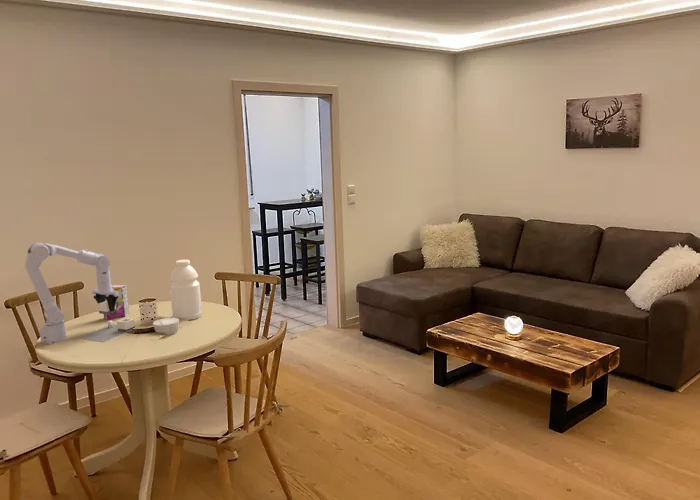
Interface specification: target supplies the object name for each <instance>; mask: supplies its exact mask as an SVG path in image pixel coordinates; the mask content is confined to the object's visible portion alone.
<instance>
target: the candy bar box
mask: <svg viewBox="0 0 700 500" xmlns="http://www.w3.org/2000/svg"><path fill="white" fill-rule="evenodd" d="M111 285H112V289H114V290H115V291H119V296H118V298H117V300H116V312H113V313H110V314H103V319H104V320H108V321H112V320H114V319H115V318H127V317H128V316H129V315H130V314H131V313H130V306H129V297H128V288H127V287H128V286H127V285H125V284H123V285H119V284H118V285H113V284H111ZM108 296H109V295H106V297H108ZM105 301H107V300H106V298H105Z"/></svg>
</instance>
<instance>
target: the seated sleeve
mask: <svg viewBox="0 0 700 500" xmlns="http://www.w3.org/2000/svg"><path fill="white" fill-rule="evenodd" d="M116 325H117V327H118V331H122V332H127V333H129V332H132V331H133V330H132V329H133V328H135V327H136V324H135V319H134V318H129V317H123V318H122V319H119V320H117V321H116ZM131 330H132V331H131ZM128 331H129V332H128Z"/></svg>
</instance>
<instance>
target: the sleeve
mask: <svg viewBox="0 0 700 500" xmlns="http://www.w3.org/2000/svg"><path fill="white" fill-rule="evenodd" d="M97 308H98V314H101V315H104V314H110V313H113V312H116V304H115V310H114V311H110V310H109V306H108V302H107V301H105V302H102V303H99V304H98V303H97Z"/></svg>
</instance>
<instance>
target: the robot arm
mask: <svg viewBox="0 0 700 500" xmlns="http://www.w3.org/2000/svg"><path fill="white" fill-rule="evenodd" d="M55 255H59V256H63V257H64V256H65V257H68V258H72V259H75V260H76V261H77V262H78V263H81V264H84V265H87V266H91V267H92V266H94V267H95V274H96V283H97V288H95V289H92V290H91V292H92V294H93V295H94V296H93V299H94V300H95V301H96V303H97V305H98V304H99V303H102V302H105V298H106V300H107V302H108V306H109V310H110V311H114V310H115V304H116V300H117V298H118V296H119V291H115V290H114V289H112V285H113V284H112V277H111V270H110V266H111V261H110V259H109V257H107V256H106V255H104V254H103V253H100V252H92V251H89V249H86V248H84V249H80V250H74V249H71V248H67V247H63V246H60V245H57V244H53V243H48V242H44V243H43V242H41V241H36V242H33V243H32V244H31V245H30V246H29V248H27V251H26V256H25V257H26V258H25V263H24V268H25V270H26V273H27V275H28V277H29V279H30V281H31V283H32V285H33V287H34V290H35V291H36V294H37V296H38V298H39V301H40V302H41V304H42V308H43V315H44V317H45V319H46V320H45V324H44V325H43V326H41V327H40V328H39V336H40V343H42V344H45V345H46V344H48V345H53V344H55V343H58V342H61V341H64V340H66V339H67V333H66V325H65V320H64V318H65V315H64V313H63V311H62V310H61V309H60V308H59V307H58V305H57V304H56V302H55V300H54V298H53V296H52V293H51V291H50V289H49V287H48V285H47V283H46V281H45V279H44V276H43V274H42V272H41V270H40V266H41V265H42V264H43V261H44V260H46V259H47V258H48V257H49V256H50V257H53V256H55ZM106 295H109V296H108V297H106Z"/></svg>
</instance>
